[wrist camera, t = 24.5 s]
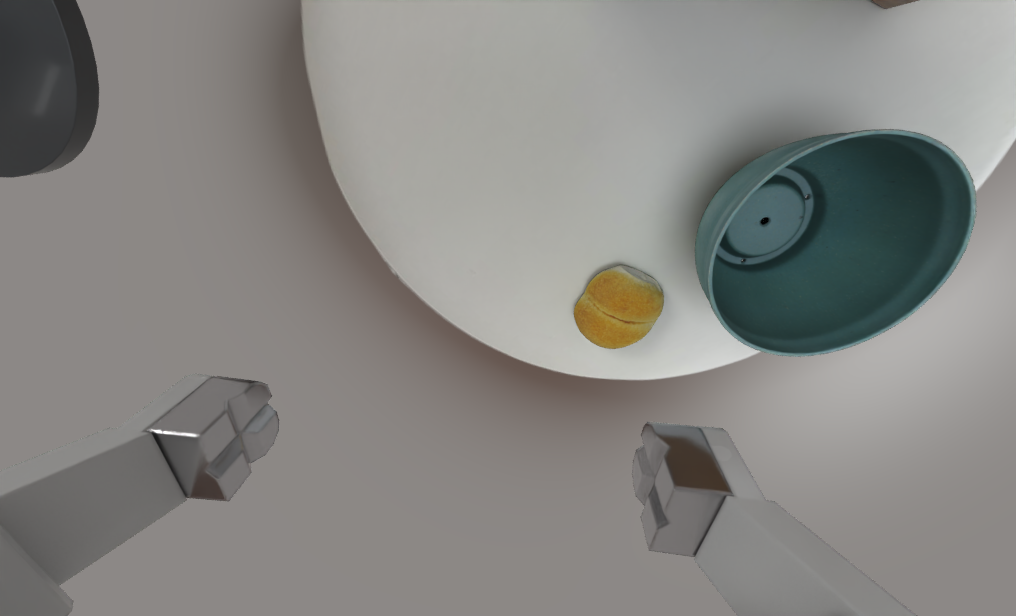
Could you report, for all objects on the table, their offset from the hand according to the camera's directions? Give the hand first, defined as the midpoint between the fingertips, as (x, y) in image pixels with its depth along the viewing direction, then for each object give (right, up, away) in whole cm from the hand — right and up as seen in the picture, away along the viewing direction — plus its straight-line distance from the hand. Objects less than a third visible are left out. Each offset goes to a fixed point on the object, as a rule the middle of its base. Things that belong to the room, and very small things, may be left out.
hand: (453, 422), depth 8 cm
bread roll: (+13, +3, +33) cm, 35 cm away
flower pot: (+24, +11, +28) cm, 38 cm away
